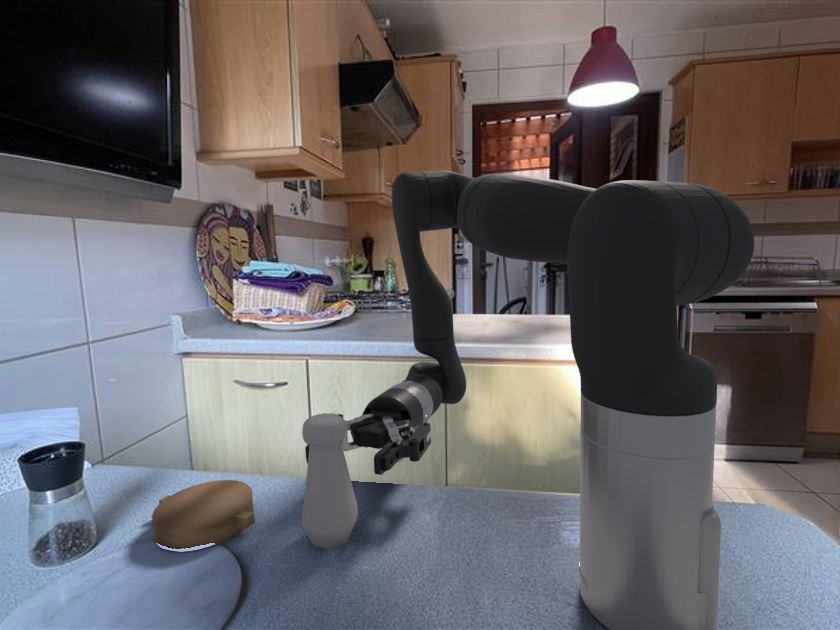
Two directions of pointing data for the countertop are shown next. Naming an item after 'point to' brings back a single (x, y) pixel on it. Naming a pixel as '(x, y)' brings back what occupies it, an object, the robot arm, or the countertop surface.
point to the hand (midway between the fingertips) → (341, 461)
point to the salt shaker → (327, 483)
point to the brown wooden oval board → (203, 514)
